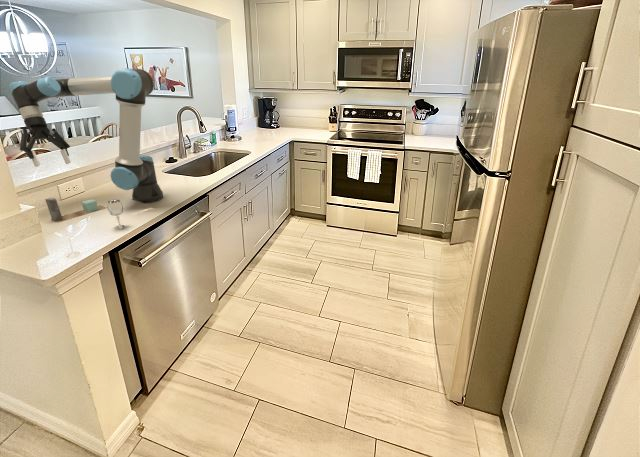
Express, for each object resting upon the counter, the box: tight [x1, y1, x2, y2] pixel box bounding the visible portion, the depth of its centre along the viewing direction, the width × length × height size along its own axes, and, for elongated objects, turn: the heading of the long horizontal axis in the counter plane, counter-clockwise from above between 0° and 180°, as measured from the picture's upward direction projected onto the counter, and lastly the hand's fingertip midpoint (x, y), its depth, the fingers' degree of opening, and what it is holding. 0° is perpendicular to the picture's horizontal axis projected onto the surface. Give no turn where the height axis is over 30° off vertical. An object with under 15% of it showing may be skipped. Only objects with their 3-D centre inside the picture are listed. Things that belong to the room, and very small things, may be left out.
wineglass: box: [106, 199, 127, 230], centre depth 152 cm, size 6×6×12 cm
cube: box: [81, 198, 98, 214], centre depth 169 cm, size 4×4×4 cm
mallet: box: [45, 197, 107, 223], centre depth 165 cm, size 22×7×11 cm, turn 146°
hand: (53, 164), depth 160 cm, fingers open, 13 cm apart
